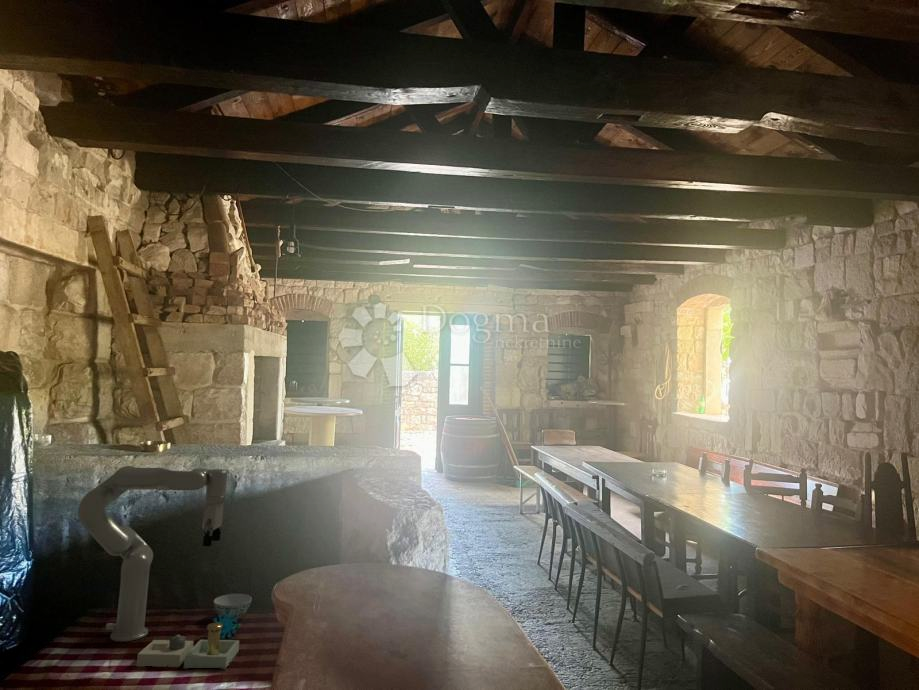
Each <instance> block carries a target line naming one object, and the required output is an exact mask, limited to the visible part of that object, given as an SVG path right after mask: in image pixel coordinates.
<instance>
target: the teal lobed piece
mask: <svg viewBox="0 0 919 690" xmlns="http://www.w3.org/2000/svg"><path fill="white" fill-rule="evenodd" d="M227 616H228V613H225V615H224V618H223V617H222V614H220V615H219V614H218V616H217V617H215V618H213V619H212V623H222V624H223V628H222V629H221V633H220V640H225V638H226V635H227V639H230V638H232V634H233V635H235V634H236V633H237V631H238V630H239V628H241V627H242V623H238V620H237V619H234V620H230V619H232V618H234V616H233V615H231V616H230V617H229V618H225V617H227ZM217 618H218V619H219V620H218V619H217ZM234 623H235V624H234ZM237 623H238V624H237ZM231 631H232V634H231Z"/></svg>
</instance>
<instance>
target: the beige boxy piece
mask: <svg viewBox="0 0 919 690" xmlns="http://www.w3.org/2000/svg"><path fill="white" fill-rule="evenodd" d="M193 647H194V640H186V636H185V635H181V634H176V635H174V636H171V637H170V638H169V639H153V640H152V642H150V643H148V645H147V646H145V647H144V648H143V649H142V650H140V652H138V653H137V660H136V667H145V666H152V667H153V666H154V667H155V668H156V667H157V668H160V667H161V668H162V667H163V668H164V667H165V668H179V667H180V666H182V664H184V659H185V655H186V654H187V653H188V652H189V651H190V650H191V649H192V648H193ZM167 666H168V667H167Z"/></svg>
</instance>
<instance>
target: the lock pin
mask: <svg viewBox="0 0 919 690" xmlns="http://www.w3.org/2000/svg"><path fill="white" fill-rule="evenodd" d="M222 628H223V624H222V623H215V622H212V623H209V624H207V626H206V630H207V631H208V633H207V640H208V643H207V655H219V644H220V640H221V635H220V633H221V629H222Z"/></svg>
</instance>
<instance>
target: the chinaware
mask: <svg viewBox="0 0 919 690" xmlns="http://www.w3.org/2000/svg"><path fill="white" fill-rule="evenodd" d="M252 600H253V598H252V596H251V595H249V594H244V593H230V594H225V595H224V594H223V595H220V596H218V597H216V598H215V599H214V600H213V605H214V610H215V612H216V613H217V614H218V616H219V615H220V614H222V617H221V618H222V619H223V618H224V615H225V613H228V616H227V617H225V618H229V617H230V616H231V615H233V616H234V618H232V619H230V620H234V619H238V620H240V619H239V618H241V616H243V615H244V614H245V613H246V612H247V611H248V610H249V607H250V606H251V604H252Z"/></svg>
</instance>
